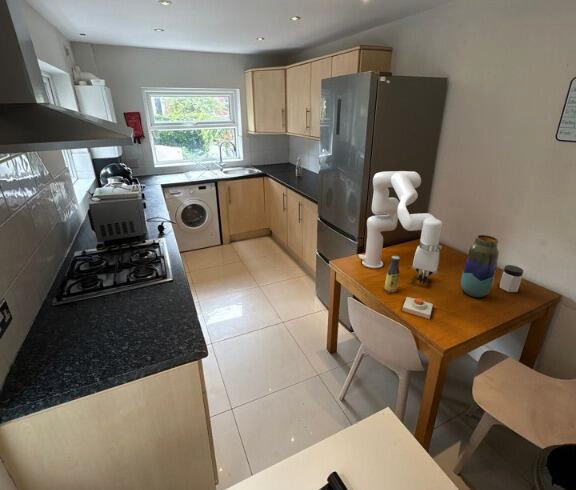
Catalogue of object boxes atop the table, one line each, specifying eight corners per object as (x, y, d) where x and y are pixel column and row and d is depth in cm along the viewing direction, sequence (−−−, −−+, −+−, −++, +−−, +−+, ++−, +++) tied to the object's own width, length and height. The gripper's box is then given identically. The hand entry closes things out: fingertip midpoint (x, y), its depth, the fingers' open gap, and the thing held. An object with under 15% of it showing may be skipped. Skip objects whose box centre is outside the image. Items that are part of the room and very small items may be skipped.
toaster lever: (426, 282, 160) (426, 280, 158) (415, 280, 162) (416, 278, 160) (430, 266, 165) (430, 263, 164) (420, 264, 168) (420, 261, 166)
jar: (521, 290, 160) (528, 270, 156) (512, 294, 157) (518, 274, 153) (504, 282, 168) (509, 263, 164) (495, 286, 165) (500, 266, 160)
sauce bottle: (390, 295, 155) (395, 261, 148) (381, 289, 161) (385, 256, 154) (399, 292, 158) (404, 258, 151) (390, 286, 163) (395, 253, 157)
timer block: (402, 310, 144) (403, 303, 143) (406, 300, 152) (407, 293, 151) (429, 319, 138) (430, 311, 137) (432, 307, 146) (433, 300, 145)
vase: (494, 295, 156) (509, 240, 145) (480, 303, 149) (495, 246, 138) (467, 283, 167) (480, 231, 156) (453, 290, 160) (465, 236, 149)
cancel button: (413, 303, 143) (414, 300, 143) (415, 299, 146) (415, 296, 146) (422, 306, 141) (422, 302, 141) (423, 302, 144) (423, 299, 144)
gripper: (448, 246, 133) (441, 282, 139) (412, 239, 140) (406, 274, 147) (446, 253, 127) (439, 290, 133) (409, 245, 134) (403, 281, 140)
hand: (422, 282), depth 140 cm, fingers closed
